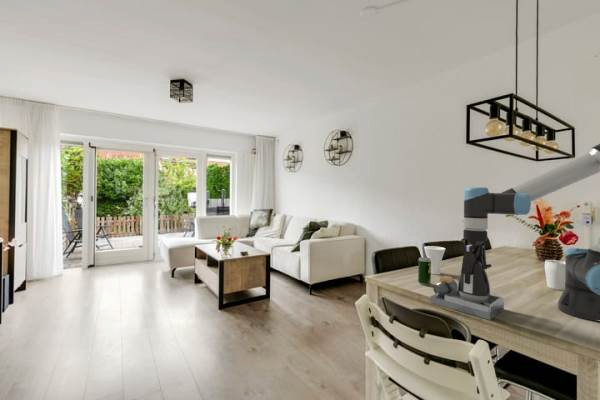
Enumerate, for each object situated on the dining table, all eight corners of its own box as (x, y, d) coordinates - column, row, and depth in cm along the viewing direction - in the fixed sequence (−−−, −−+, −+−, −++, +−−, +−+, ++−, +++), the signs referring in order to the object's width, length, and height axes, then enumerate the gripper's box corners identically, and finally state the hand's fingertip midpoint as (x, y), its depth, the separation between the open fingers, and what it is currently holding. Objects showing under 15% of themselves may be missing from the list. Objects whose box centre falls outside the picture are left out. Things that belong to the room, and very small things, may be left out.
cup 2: (542, 283, 137) (542, 258, 137) (567, 287, 132) (568, 261, 132) (546, 289, 129) (547, 262, 129) (573, 292, 125) (574, 265, 124)
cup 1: (449, 275, 150) (450, 249, 150) (430, 276, 148) (431, 249, 148) (437, 270, 160) (437, 245, 160) (419, 270, 159) (420, 246, 159)
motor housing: (503, 309, 105) (504, 284, 105) (490, 320, 96) (490, 293, 96) (447, 294, 121) (447, 272, 121) (430, 302, 111) (430, 279, 111)
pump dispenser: (489, 308, 99) (490, 264, 99) (455, 301, 105) (456, 260, 105) (491, 300, 107) (492, 259, 107) (460, 294, 113) (460, 256, 113)
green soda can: (417, 284, 134) (417, 258, 134) (418, 281, 138) (419, 256, 138) (430, 286, 131) (430, 260, 131) (431, 283, 136) (431, 257, 136)
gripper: (475, 226, 116) (474, 280, 117) (451, 230, 101) (450, 293, 102) (497, 228, 111) (495, 285, 111) (474, 232, 95) (473, 299, 96)
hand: (474, 289), depth 106 cm, fingers open, 11 cm apart
